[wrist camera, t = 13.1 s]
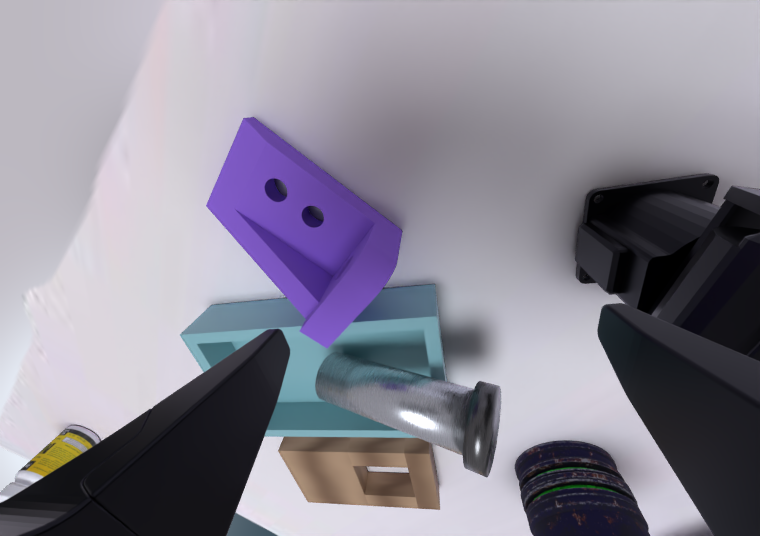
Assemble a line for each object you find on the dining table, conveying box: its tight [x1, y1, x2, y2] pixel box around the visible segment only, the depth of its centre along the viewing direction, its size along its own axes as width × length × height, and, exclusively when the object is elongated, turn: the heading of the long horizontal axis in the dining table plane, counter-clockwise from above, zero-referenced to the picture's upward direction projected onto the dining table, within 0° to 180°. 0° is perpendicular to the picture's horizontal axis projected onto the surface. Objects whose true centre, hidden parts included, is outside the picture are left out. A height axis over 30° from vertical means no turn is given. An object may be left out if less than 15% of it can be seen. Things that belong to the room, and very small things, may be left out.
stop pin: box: [315, 352, 501, 477], centre depth 22 cm, size 5×5×13 cm
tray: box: [180, 284, 447, 438], centre depth 26 cm, size 20×13×4 cm, turn 101°
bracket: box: [206, 117, 402, 348], centre depth 19 cm, size 12×7×7 cm, turn 54°
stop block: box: [278, 437, 440, 510], centre depth 34 cm, size 16×11×2 cm, turn 101°
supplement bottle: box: [0, 426, 100, 503], centre depth 38 cm, size 5×5×8 cm
